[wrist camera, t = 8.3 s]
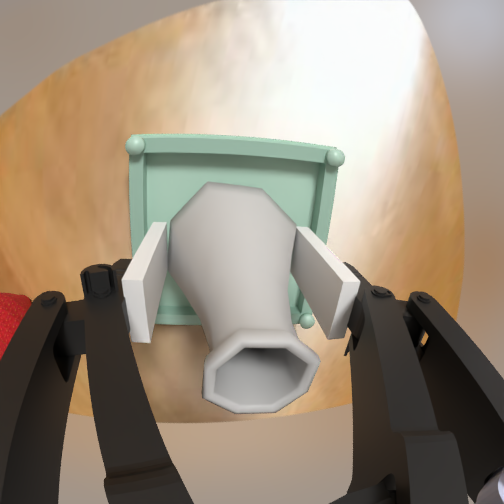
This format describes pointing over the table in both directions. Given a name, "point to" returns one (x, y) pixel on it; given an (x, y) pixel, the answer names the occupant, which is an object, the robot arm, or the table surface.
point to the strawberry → (11, 316)
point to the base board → (230, 172)
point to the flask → (241, 296)
